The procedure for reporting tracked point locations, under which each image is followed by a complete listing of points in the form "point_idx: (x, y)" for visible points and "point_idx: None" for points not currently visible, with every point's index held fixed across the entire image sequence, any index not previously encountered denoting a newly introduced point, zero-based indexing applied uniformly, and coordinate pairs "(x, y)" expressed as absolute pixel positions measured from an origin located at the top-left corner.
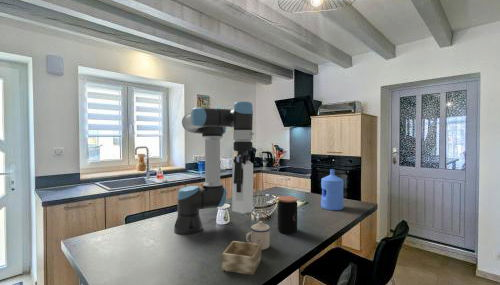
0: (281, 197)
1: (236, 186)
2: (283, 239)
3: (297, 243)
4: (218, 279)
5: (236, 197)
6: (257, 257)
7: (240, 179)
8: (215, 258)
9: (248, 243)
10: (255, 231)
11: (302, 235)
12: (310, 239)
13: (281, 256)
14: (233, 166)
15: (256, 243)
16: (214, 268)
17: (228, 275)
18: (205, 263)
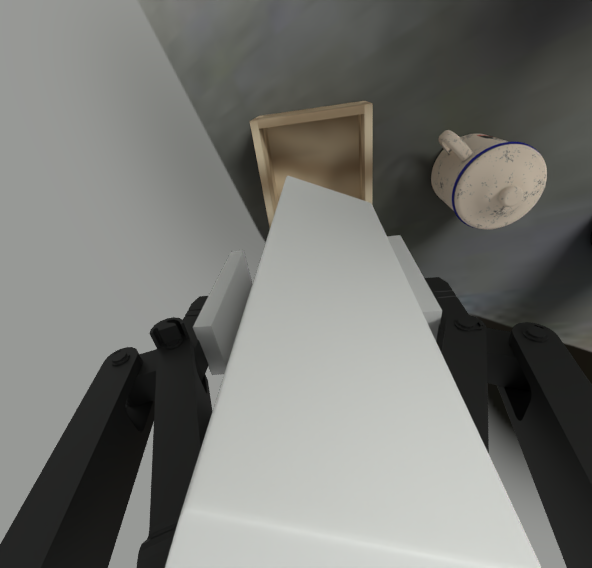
0: None
1: (203, 314)
2: (534, 230)
3: (500, 275)
4: (212, 132)
5: (227, 264)
6: None
7: (136, 418)
8: (321, 41)
9: (365, 178)
10: (455, 180)
11: (573, 278)
12: (536, 302)
13: None
14: (198, 462)
15: (438, 172)
16: (257, 83)
17: (243, 150)
18: (272, 22)
